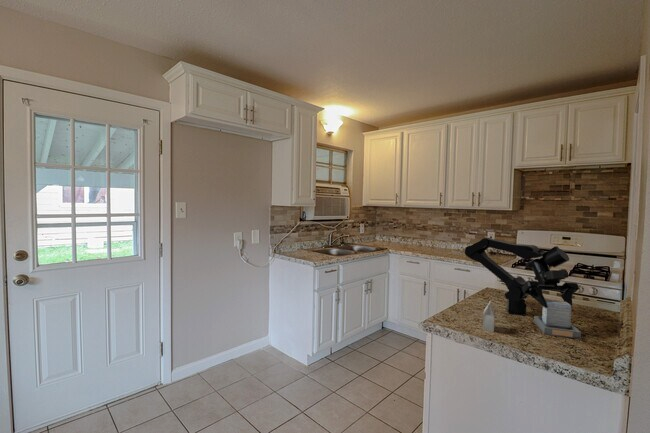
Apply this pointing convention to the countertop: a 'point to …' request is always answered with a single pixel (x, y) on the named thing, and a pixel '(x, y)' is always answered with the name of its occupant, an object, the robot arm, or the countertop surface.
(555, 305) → the medicine box
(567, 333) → the tray
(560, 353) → the countertop surface
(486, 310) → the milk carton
